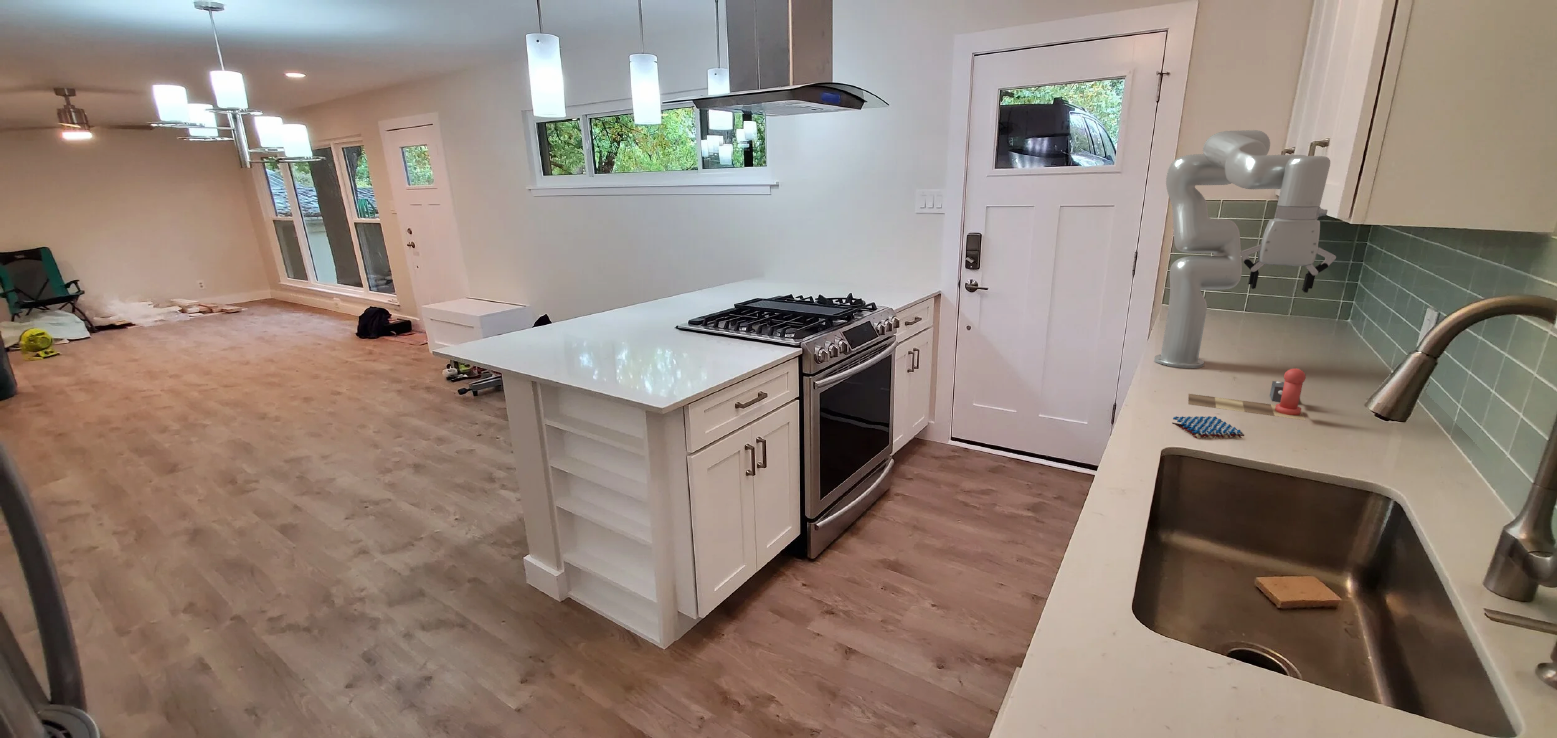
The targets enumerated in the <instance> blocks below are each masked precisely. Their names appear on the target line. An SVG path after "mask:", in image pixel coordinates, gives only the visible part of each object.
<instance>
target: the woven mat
mask: <svg viewBox="0 0 1557 738" xmlns="http://www.w3.org/2000/svg"><path fill="white" fill-rule="evenodd" d="M1172 420H1176V422H1177V423H1176V422H1172V424H1173V425H1175V426H1176V427H1178V428H1180V429H1181V430H1182V431H1184V432H1186V433H1188V434H1189V435H1191V436H1192V437H1193V438H1195V439H1197V440H1198V439H1199V440H1201V439H1205V440H1206V439H1209V440H1210V439H1216V438H1218V439H1219V440H1223V439H1225V440H1226V439H1233V438H1234V439H1236V440H1237V439H1243V437H1245V434H1244V433H1243V432H1242V431H1241V429H1237V428H1236V427H1235V426H1232V425H1231V424H1230V423H1229V424H1228V423H1227V422H1226V421H1223V420H1222V419H1221V418H1218V417H1217V415H1216V416H1196V415H1195V416H1183V415H1182V416H1173V418H1172Z"/></svg>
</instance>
